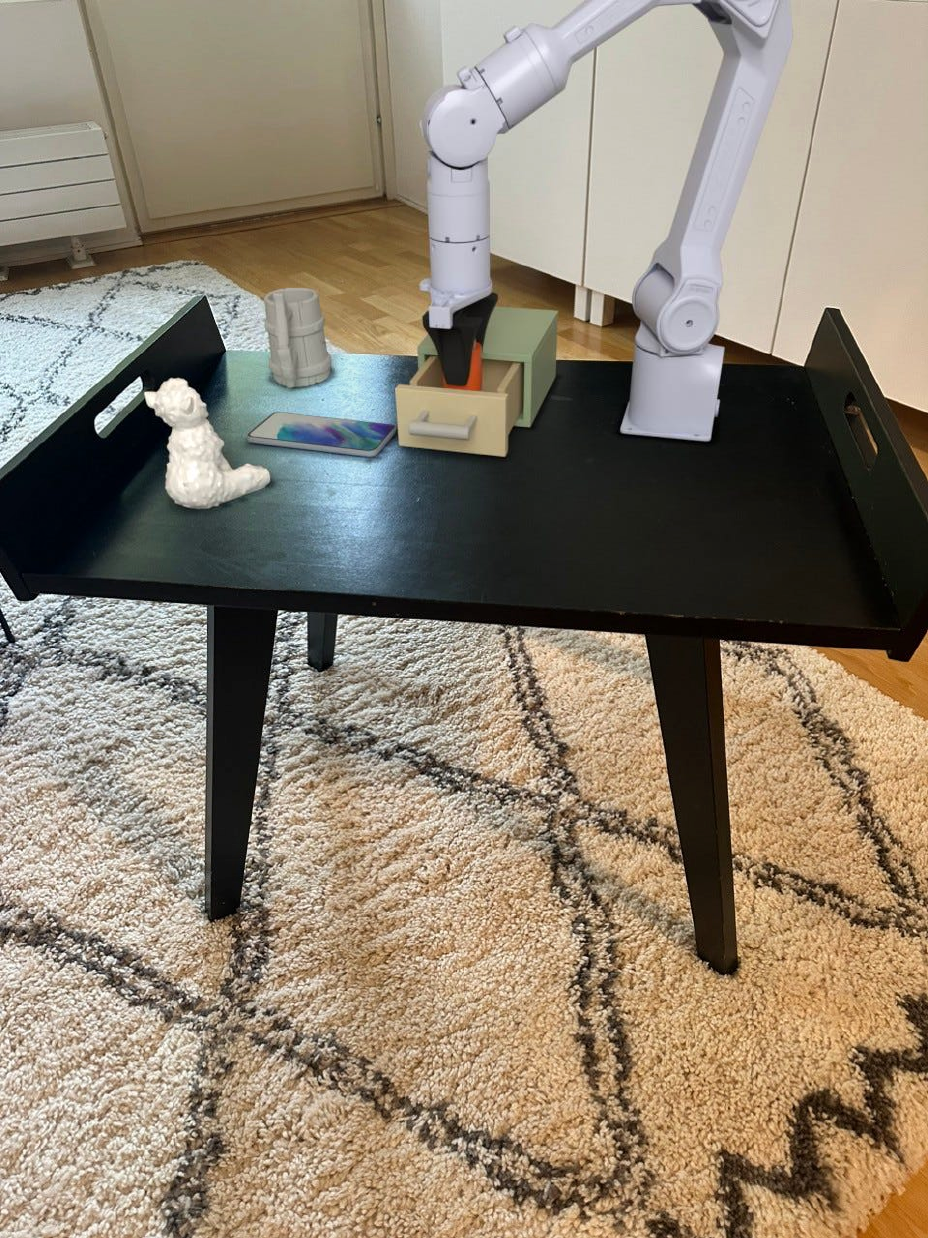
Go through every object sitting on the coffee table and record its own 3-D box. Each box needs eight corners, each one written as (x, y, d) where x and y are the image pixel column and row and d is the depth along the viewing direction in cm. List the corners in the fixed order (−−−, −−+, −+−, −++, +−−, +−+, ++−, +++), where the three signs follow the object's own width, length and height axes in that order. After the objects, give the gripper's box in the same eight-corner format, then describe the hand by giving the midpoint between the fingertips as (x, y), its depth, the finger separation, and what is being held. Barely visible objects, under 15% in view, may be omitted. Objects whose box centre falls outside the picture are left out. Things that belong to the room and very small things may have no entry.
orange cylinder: (486, 382, 94) (485, 333, 91) (476, 397, 91) (475, 347, 88) (449, 379, 95) (448, 330, 91) (438, 393, 92) (436, 344, 88)
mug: (337, 363, 114) (326, 266, 107) (322, 401, 105) (309, 297, 97) (277, 364, 114) (263, 267, 107) (257, 402, 105) (240, 298, 98)
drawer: (495, 476, 87) (495, 416, 83) (385, 464, 90) (380, 405, 86) (533, 403, 101) (534, 348, 97) (436, 394, 103) (434, 341, 100)
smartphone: (273, 410, 101) (398, 424, 97) (274, 417, 101) (399, 431, 98) (243, 436, 95) (374, 452, 92) (244, 444, 96) (374, 459, 92)
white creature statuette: (275, 483, 89) (256, 367, 82) (222, 525, 83) (196, 403, 76) (199, 466, 92) (173, 353, 85) (142, 505, 86) (109, 386, 79)
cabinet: (530, 427, 98) (531, 355, 93) (420, 416, 101) (416, 346, 96) (555, 376, 109) (558, 310, 104) (456, 368, 112) (454, 303, 107)
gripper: (440, 214, 90) (445, 346, 98) (393, 254, 79) (403, 399, 87) (509, 217, 88) (508, 351, 97) (470, 258, 77) (473, 405, 86)
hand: (462, 374), depth 92 cm, fingers closed on orange cylinder, 4 cm apart
